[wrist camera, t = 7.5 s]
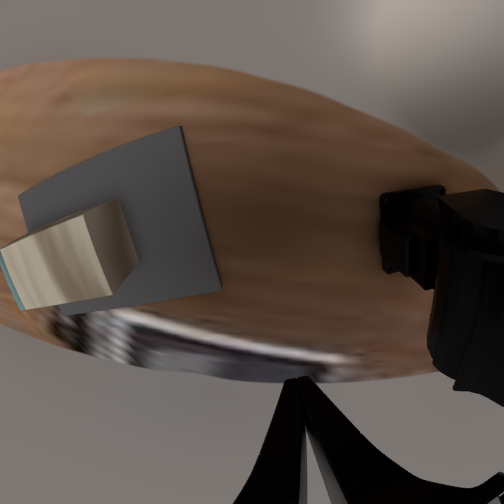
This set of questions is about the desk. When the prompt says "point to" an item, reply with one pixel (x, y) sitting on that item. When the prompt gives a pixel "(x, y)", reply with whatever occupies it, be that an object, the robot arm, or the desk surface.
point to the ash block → (71, 258)
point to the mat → (138, 218)
